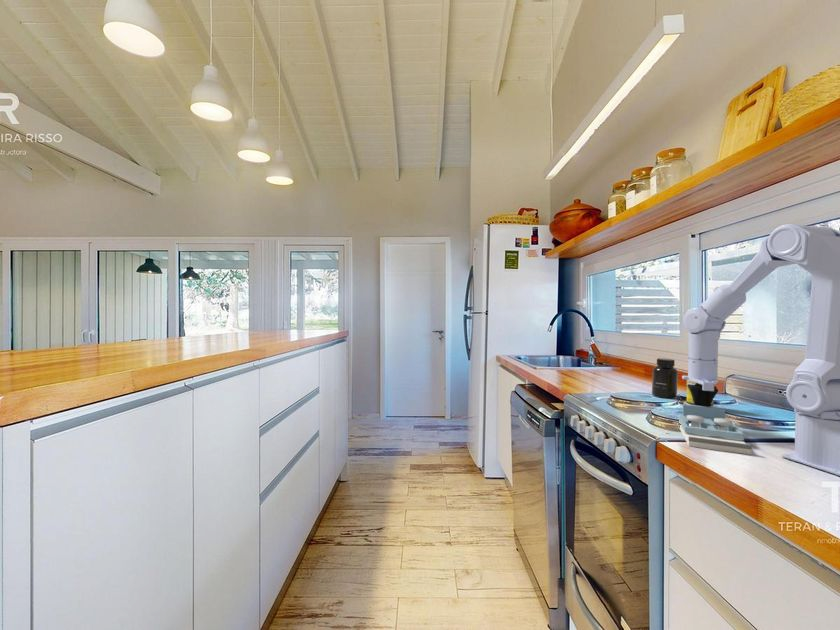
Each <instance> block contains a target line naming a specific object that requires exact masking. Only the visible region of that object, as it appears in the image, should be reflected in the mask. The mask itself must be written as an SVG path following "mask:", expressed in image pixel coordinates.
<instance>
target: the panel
mask: <svg viewBox="0 0 840 630" xmlns="http://www.w3.org/2000/svg"><path fill="white" fill-rule="evenodd" d="M687 415H696V416H701V417H703V418H704V422H703V423H700V427H701V428H699V427H691V426H689V422H688V420H687ZM676 417H678V419H679V423H680V424H681V426H682V428H683V430H684V432H685V433H693V434H700V435H708V436H716V437H724V438H732V439H740V440H743V441H745V434H744V433H743V432H742V431H741V429H739V428H738V426H736V424H735V423H733V424H732V426H728V431H723V430H716V425H718V424H715V423H714V418H723V419H726V409H725V408H724V407H718V406H717V407H716V406H713V407H708V406H698V405H688V404H687V403H683V404H682V413H677V415H676ZM727 419H728V418H727ZM728 420H730V419H728Z"/></svg>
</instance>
